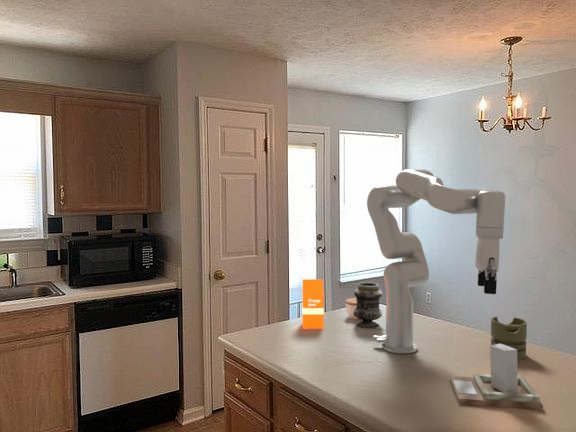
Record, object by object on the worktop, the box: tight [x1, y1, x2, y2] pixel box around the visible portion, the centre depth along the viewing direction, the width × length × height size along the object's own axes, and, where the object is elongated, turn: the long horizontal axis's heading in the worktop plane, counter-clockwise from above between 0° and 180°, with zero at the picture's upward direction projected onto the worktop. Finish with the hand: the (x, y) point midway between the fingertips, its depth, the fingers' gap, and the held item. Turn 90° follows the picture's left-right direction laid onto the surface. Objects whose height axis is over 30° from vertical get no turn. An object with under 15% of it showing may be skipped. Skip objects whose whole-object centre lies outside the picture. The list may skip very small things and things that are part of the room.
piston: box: [490, 316, 528, 361], centre depth 167 cm, size 11×12×11 cm
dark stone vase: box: [353, 281, 383, 330], centre depth 203 cm, size 12×12×18 cm
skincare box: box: [489, 344, 519, 393], centre depth 134 cm, size 6×4×12 cm
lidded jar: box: [344, 296, 360, 320], centre depth 217 cm, size 11×11×9 cm
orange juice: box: [301, 278, 325, 329], centre depth 204 cm, size 8×9×20 cm
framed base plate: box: [449, 373, 544, 411], centre depth 134 cm, size 21×16×3 cm
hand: (486, 289), depth 143 cm, fingers open, 9 cm apart
